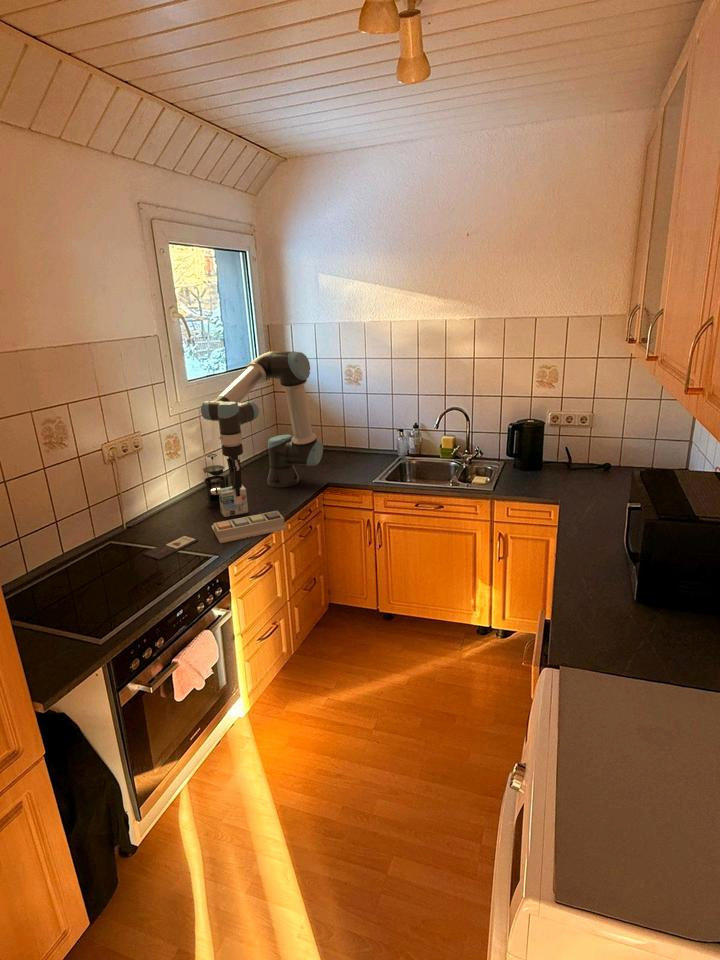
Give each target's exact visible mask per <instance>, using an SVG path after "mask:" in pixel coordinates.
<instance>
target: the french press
mask: <svg viewBox="0 0 720 960" xmlns="http://www.w3.org/2000/svg"><path fill="white" fill-rule="evenodd" d="M217 456H218V454H216V453H210V454H208V455H206V457H208V458H210V459H211V462H212V465H207V466H206V467H204V468H202V471H203V472H204V474H206V473H209V474H210V475H211V476H208V477H206V478H204V484H205V487H206V495H207V498H206V501H207V502H206V503H207V504H206V506H207V508H209V509H220V500H219V491H218V489H221V488H226V487H230V486H229V477H228V475H226V474H225V475H223V474H224V473H225V472H224V469H225V466H224V465H220V464H216V465H215V464H214V458H216V457H217ZM216 479H219V480H218V481H217V480H216ZM211 480H214V481H213V482H212V481H211ZM218 485H219V486H220V487H217V486H218ZM212 486H215V487H213V488H212Z"/></svg>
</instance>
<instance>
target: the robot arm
mask: <svg viewBox="0 0 720 960" xmlns="http://www.w3.org/2000/svg"><path fill="white" fill-rule="evenodd" d="M310 374H311V364H310V361H309V358H308V356H307V355H306V354H305V353H303V352H301V351H296V350H295V351H293V350H292V351H274V350H273V351H268V352H264V353H263V354H260V355H259V356H257V357H255V358H254V359H253V360H252V361H250V362H249V363H248V364H247V366H246V367H245V370H244V371H243V372H242V373H241V374H240V375H239V376H237V378H236V379H235V380H233V381H232V382H231V383H230V385H228V386H227V387H226V388H225V389H224V390H223V391H222V392H221V393H220V394H219V395H217V397H215V399H213V400H205V401H204V402H202V404H201V406H200V414H201V416H202V418H203V419H205V420H207V421H212V422H218V423H219V425H218V426H219V432H220V436H219V437H218V438H219V440H221V444H222V445H221V451H222V456H224V457H228V458H226V462H227V466H228V472H229V479H230V484H231V486H232V489H233V496H234V504H235V505H236V504H241V503H242V497H241V488H242V485H243V484H242V465H241V460H240V458H239V456H241V455H243V453H244V447H243V444H242V442H243V437H242V429H241V425H245V424H247V423H251V422H252V421H254V420H255V419H257V418H258V417H259V414H260V409H259V406H258V405H257V403H256V402H255V401H252V400H247V401H244V402H242V401H243V400H244V399H245V397H246V396H247V395H248V394H250V393H251V391H253V389H254V388H255V387H257V385H258V384H262V383H264V382H265V381H266V380H269V379H271V380H272V379H277V380H278V379H279V382H280V387H283V388H284V392H285V396H286V401H287V407H288V413H289V417H290V422H291V427H292V431H293V433H292V434H293V435H291V434H281V435H276V436H272V437H271V438H269V439H268V441H267V449H268V460H269V471H268V475H267V485H268V486H269V487H272V488H282V489H283V488H290V487H293V486H296V485H298V484H299V482H300V479H299V474H298V472H297V470H296V467H295V465H302V466H304V465H305V466H317V465H318V464H319V463H320V462H321V459H322V457H323V453H324V445H323V442H322V441H320V440H318V439H317V435H316V434H315V433H314V432H313V429H312V424H311V423H312V421H311V416H310V412H309V405H308V399H307V393H306V388H305V385H306V383H307V382H308V381H307V380H308V379H309V377H310Z"/></svg>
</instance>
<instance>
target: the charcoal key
mask: <svg viewBox="0 0 720 960" xmlns="http://www.w3.org/2000/svg"><path fill="white" fill-rule="evenodd" d="M271 512H272V513H268V512H265V513H266V518H267V519H268V520H273V519H278V518H280V515H279V514H278V513H277V512H273V511H271Z"/></svg>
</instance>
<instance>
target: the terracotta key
mask: <svg viewBox="0 0 720 960" xmlns="http://www.w3.org/2000/svg"><path fill="white" fill-rule="evenodd" d="M225 521H226V522H222V521H220V522H221V523H217V522H216V523H217V527H218V528H219V530H223V529H228V528H231V524H230V523H229V521H227V520H225Z"/></svg>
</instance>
